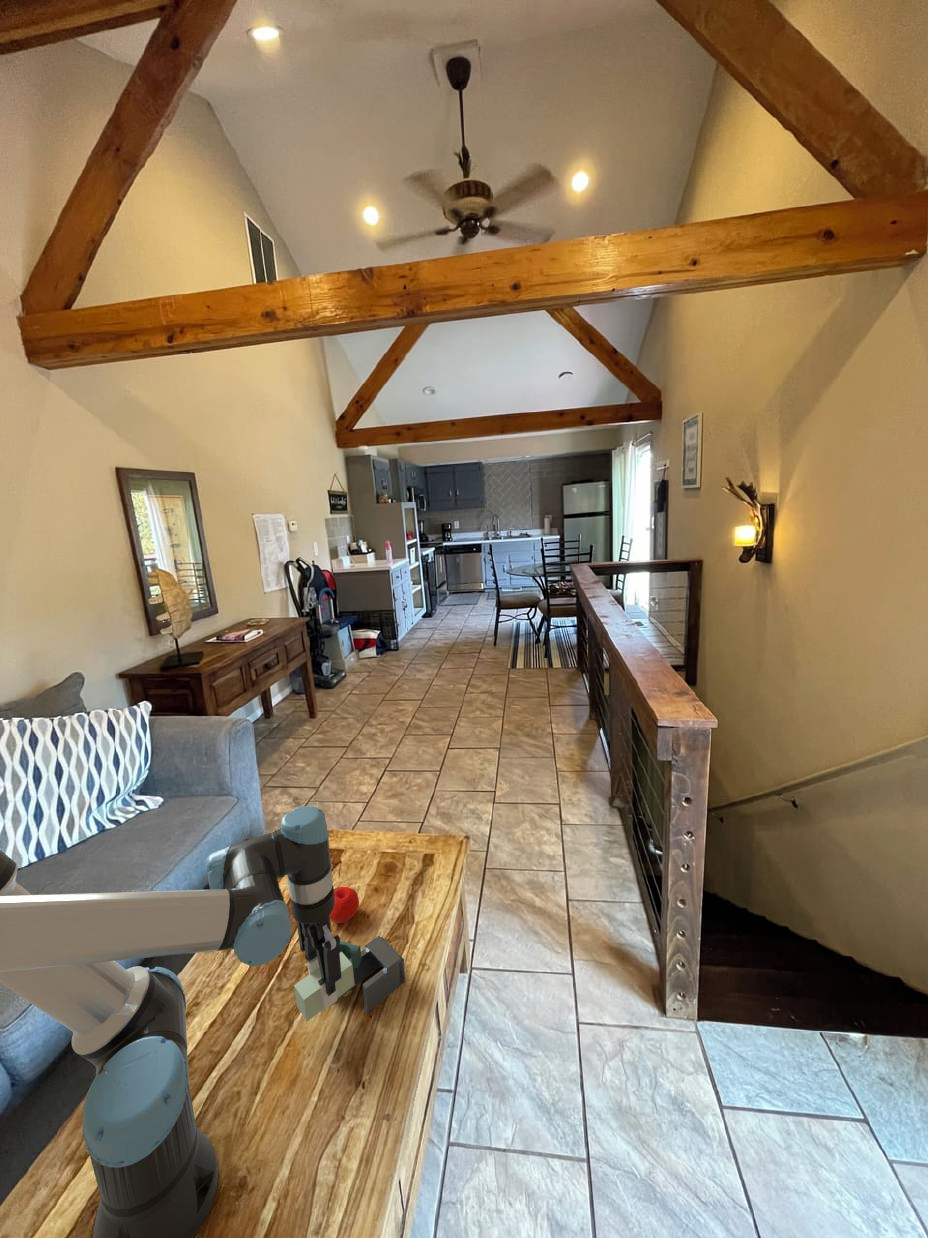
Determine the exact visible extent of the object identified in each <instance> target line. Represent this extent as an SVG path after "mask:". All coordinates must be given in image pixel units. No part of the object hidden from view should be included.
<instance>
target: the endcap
mask: <svg viewBox="0 0 928 1238" xmlns="http://www.w3.org/2000/svg"><path fill="white" fill-rule="evenodd" d="M349 961H350V962H351V963H352V961H351V959H350V960H349ZM379 968H382V969H381V970H379V971H378V972H377V973H376V974H374V975H373V976H372V977H370V978H369V979H367V980H366V981H365V982H363V983H362V993H363V1005H364V1007H363V1008H364V1010H365V1011H366V1012H367V1013H369V1012H371V1011H372V1009H374V1008H375V1007H377V1006H378V1005H379V1004H380V1003H381V1002H382V1001H384V1000H385V999H386V998H387V997H388V996H390V995H391V994H392V993H394V992H395V991H396V990H398V988H400V987H401V986H402V985H404V984H405V983H406V975H405V974H406V973H405V971H406V970H405V958H403V957H402V956H401V955H400V953H399V952H398V951H397V950H396V949H394V947H393V946H392V945H391V944H390V943H389V942H388V941H387V940H386V939H385V938H384V937H383V936H380V935H378V936H376V937H374V938H373V939H372V940H370V941H369V942H367V943H366V944H365V947H364V949H361V962H360V965H359V967H358V968H354V982H355V985H354V986H353V987H352V989H353V988H355V987H356V986H357V985H358V984H360V983H361V982H362V981H364V980H365V979H366V978H367V977H369V976H370V975H372V974H373V973H374V972H376V971H377V970H378V969H379Z"/></svg>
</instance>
